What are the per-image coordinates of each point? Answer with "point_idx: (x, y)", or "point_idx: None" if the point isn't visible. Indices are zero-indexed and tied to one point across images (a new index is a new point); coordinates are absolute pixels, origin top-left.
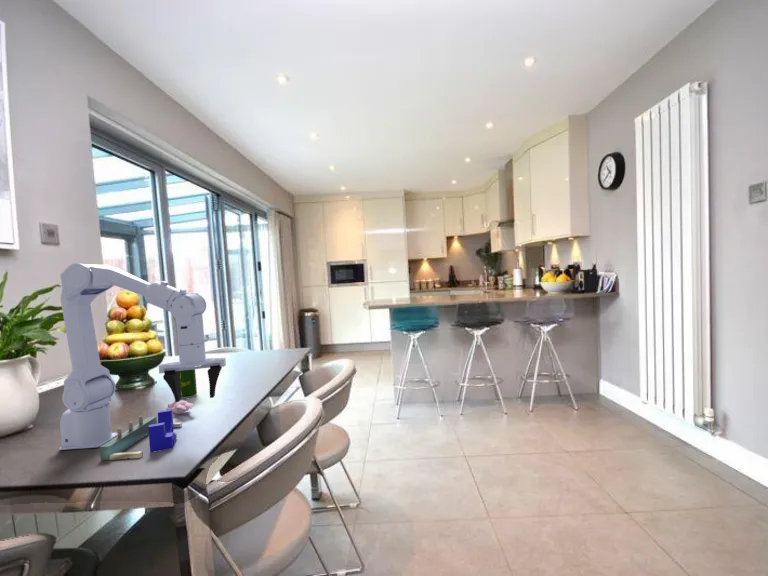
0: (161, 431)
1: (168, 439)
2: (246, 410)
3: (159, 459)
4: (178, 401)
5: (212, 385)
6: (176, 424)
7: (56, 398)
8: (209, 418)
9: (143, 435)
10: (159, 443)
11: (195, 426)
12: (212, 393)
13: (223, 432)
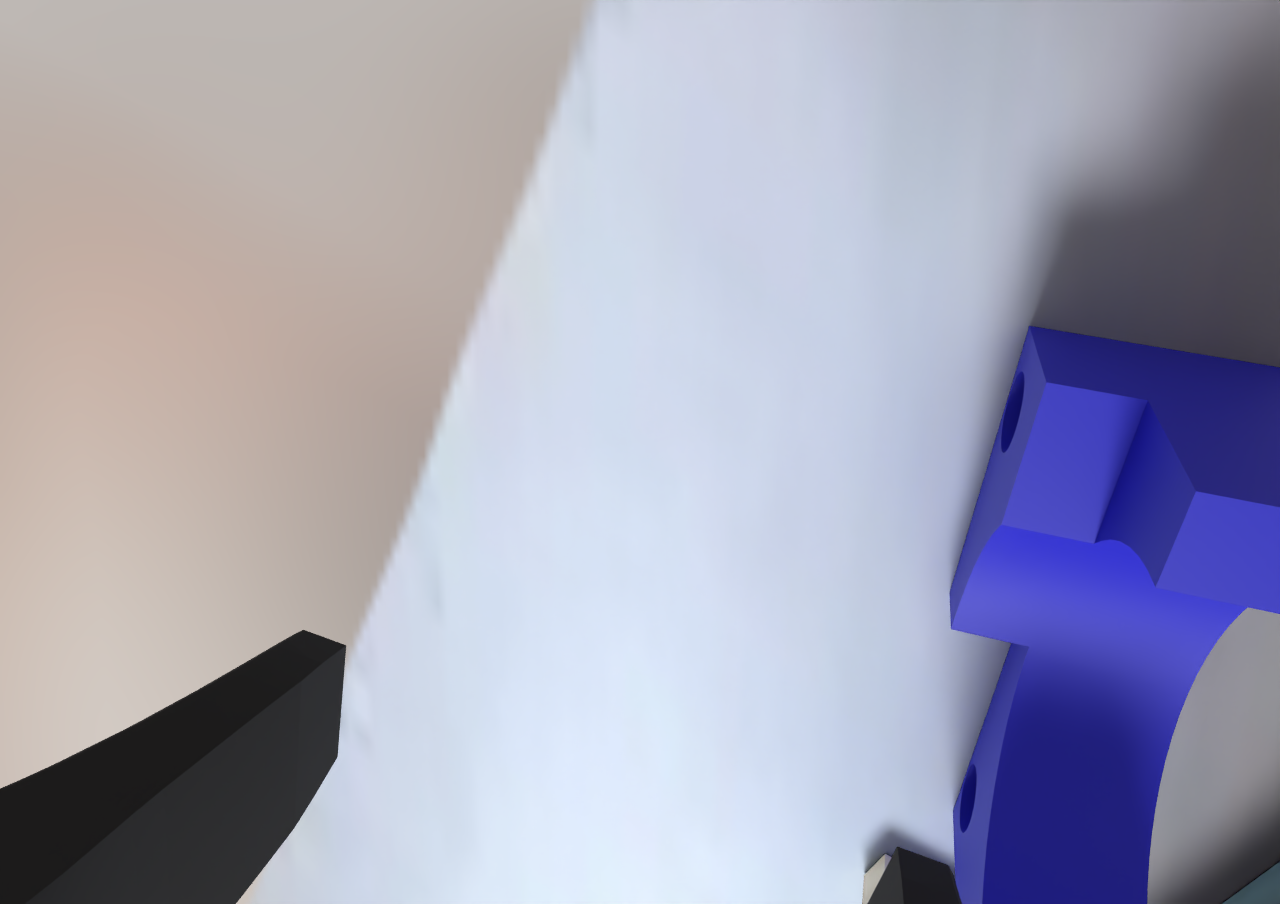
0: (1206, 447)
1: (1088, 375)
2: None
3: (1244, 26)
4: (902, 853)
5: (97, 771)
6: None
7: None
8: (610, 870)
9: (1269, 889)
10: (1201, 387)
11: (742, 775)
12: (247, 668)
13: (480, 415)
